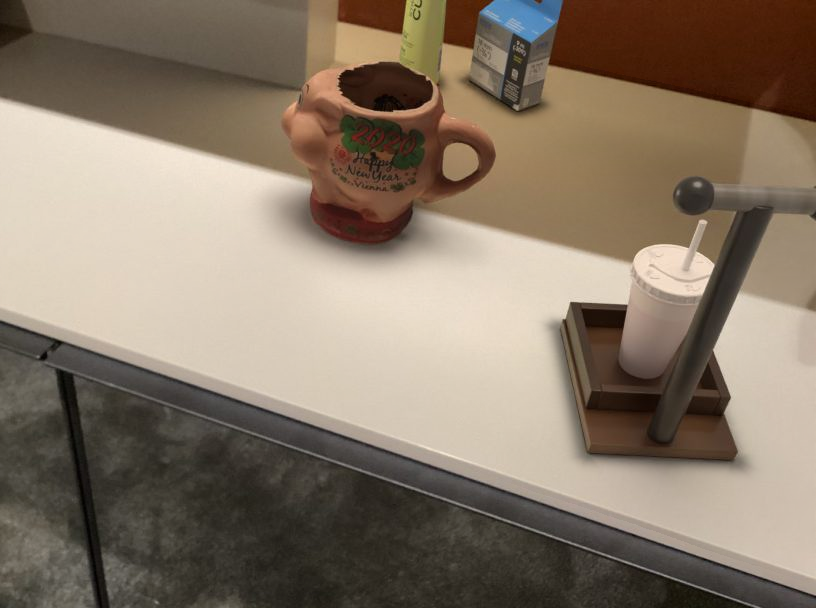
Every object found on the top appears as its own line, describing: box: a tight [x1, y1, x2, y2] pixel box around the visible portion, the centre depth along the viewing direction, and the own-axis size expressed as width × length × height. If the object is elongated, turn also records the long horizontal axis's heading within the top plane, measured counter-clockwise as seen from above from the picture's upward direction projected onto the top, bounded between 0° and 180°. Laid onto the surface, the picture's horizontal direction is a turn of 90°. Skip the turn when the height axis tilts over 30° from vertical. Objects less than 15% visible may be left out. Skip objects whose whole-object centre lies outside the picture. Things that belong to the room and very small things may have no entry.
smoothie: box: [618, 219, 715, 379], centre depth 73 cm, size 6×6×14 cm
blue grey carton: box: [468, 0, 564, 112], centre depth 108 cm, size 9×4×12 cm, turn 33°
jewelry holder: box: [559, 175, 816, 461], centre depth 70 cm, size 11×14×23 cm
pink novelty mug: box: [280, 61, 497, 245], centre depth 89 cm, size 20×12×14 cm, turn 75°
